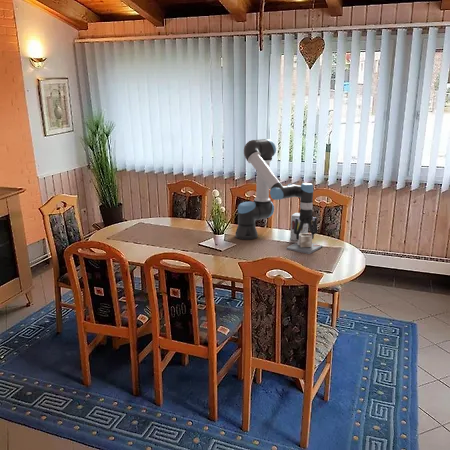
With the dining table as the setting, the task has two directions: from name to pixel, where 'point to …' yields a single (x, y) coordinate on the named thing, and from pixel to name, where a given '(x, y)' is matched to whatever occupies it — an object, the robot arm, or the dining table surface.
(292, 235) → the supplement box
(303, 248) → the shaft plate
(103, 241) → the dining table surface
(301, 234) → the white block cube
